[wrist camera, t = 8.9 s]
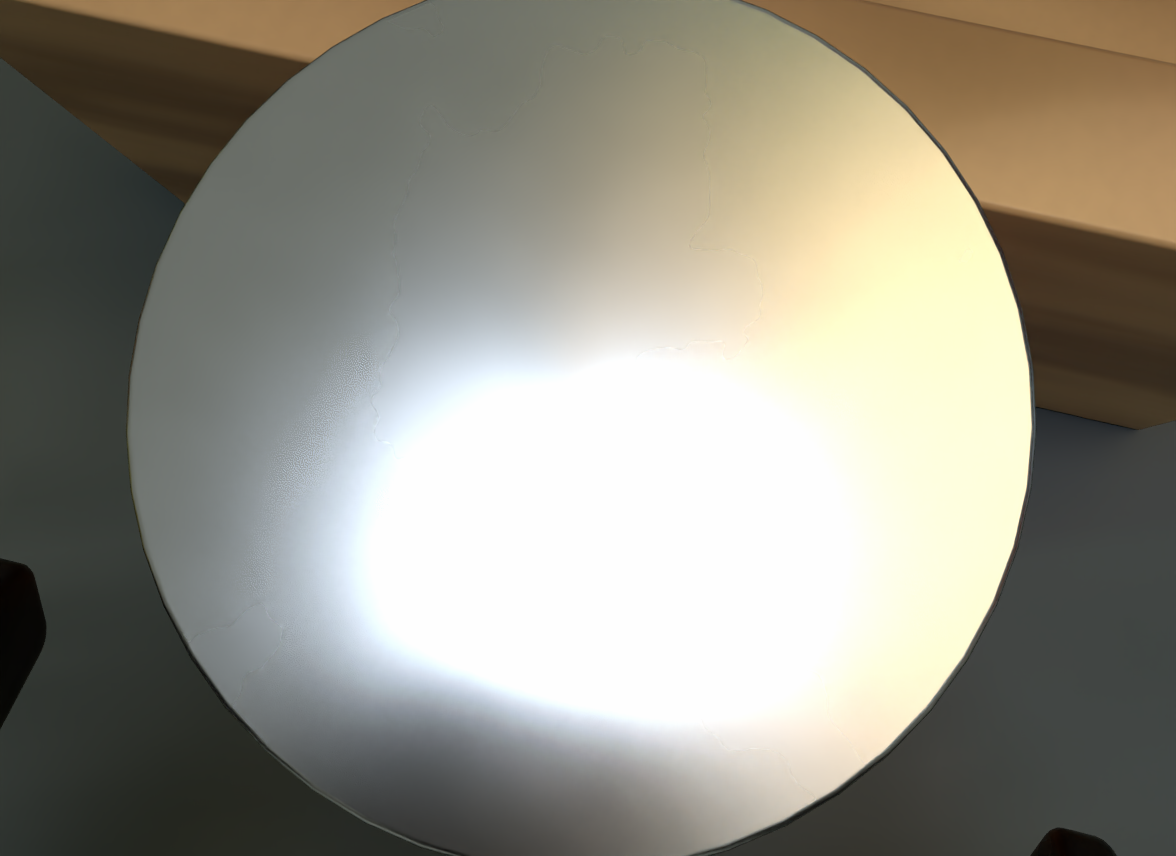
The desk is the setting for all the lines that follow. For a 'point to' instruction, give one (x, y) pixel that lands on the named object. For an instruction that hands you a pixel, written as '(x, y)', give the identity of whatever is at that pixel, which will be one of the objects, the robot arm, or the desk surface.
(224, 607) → the tin can
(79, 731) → the desk surface
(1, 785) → the desk surface
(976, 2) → the wooden bookend
